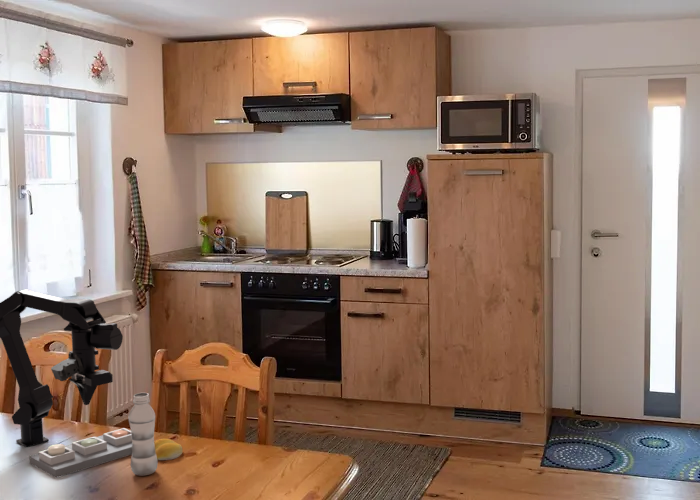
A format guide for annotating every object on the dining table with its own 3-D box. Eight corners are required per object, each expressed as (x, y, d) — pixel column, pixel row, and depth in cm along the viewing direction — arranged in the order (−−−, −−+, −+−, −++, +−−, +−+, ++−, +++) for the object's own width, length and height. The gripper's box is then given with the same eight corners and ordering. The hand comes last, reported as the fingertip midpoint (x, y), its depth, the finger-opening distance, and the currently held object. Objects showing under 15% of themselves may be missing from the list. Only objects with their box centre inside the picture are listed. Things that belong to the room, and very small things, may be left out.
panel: (29, 463, 213) (28, 449, 212) (119, 437, 232) (119, 424, 231) (56, 477, 203) (55, 462, 203) (147, 449, 222) (147, 435, 222)
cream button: (45, 453, 211) (45, 447, 210) (60, 449, 213) (60, 443, 213) (53, 457, 208) (52, 450, 208) (68, 453, 211) (67, 446, 210)
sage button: (78, 448, 217) (78, 441, 217) (92, 444, 220) (92, 437, 220) (86, 451, 214) (86, 445, 214) (100, 447, 217) (100, 441, 217)
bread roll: (160, 464, 212) (160, 448, 212) (144, 454, 219) (143, 440, 218) (189, 455, 217) (188, 441, 217) (172, 447, 224) (171, 432, 224)
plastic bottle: (163, 470, 207) (160, 392, 205) (148, 480, 201) (144, 399, 199) (141, 467, 209) (137, 389, 207) (125, 477, 203) (121, 397, 201)
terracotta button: (109, 439, 224) (109, 433, 223) (122, 435, 226) (122, 429, 226) (117, 442, 221) (117, 436, 221) (130, 438, 224) (130, 432, 224)
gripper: (37, 347, 221) (41, 404, 223) (72, 358, 208) (75, 419, 210) (76, 340, 229) (79, 395, 231) (112, 350, 216) (115, 409, 218)
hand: (86, 404), depth 222 cm, fingers closed
